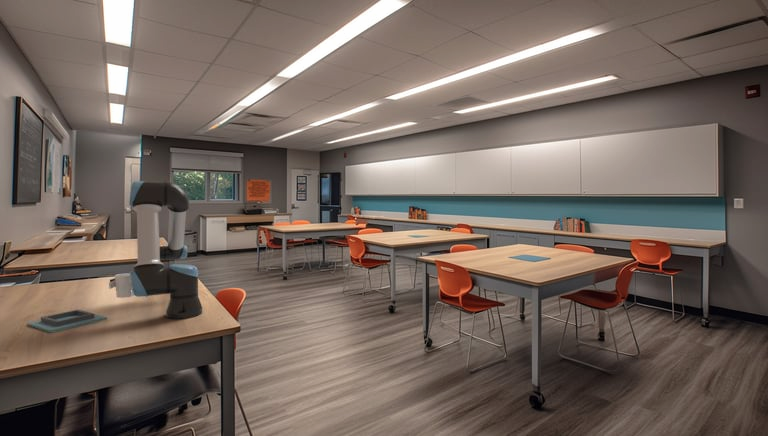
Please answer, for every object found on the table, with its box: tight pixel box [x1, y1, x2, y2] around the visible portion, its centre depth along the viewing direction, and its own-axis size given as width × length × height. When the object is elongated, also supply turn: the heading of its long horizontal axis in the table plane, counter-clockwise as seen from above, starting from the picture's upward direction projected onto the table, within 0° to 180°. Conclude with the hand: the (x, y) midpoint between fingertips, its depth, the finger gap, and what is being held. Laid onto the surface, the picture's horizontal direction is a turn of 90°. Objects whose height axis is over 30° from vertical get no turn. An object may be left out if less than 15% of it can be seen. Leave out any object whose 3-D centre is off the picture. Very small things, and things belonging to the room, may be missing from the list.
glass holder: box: [26, 309, 108, 334], centre depth 162 cm, size 20×20×3 cm
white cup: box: [114, 272, 135, 299], centre depth 172 cm, size 8×8×10 cm
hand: (120, 285), depth 167 cm, fingers closed on white cup, 7 cm apart
